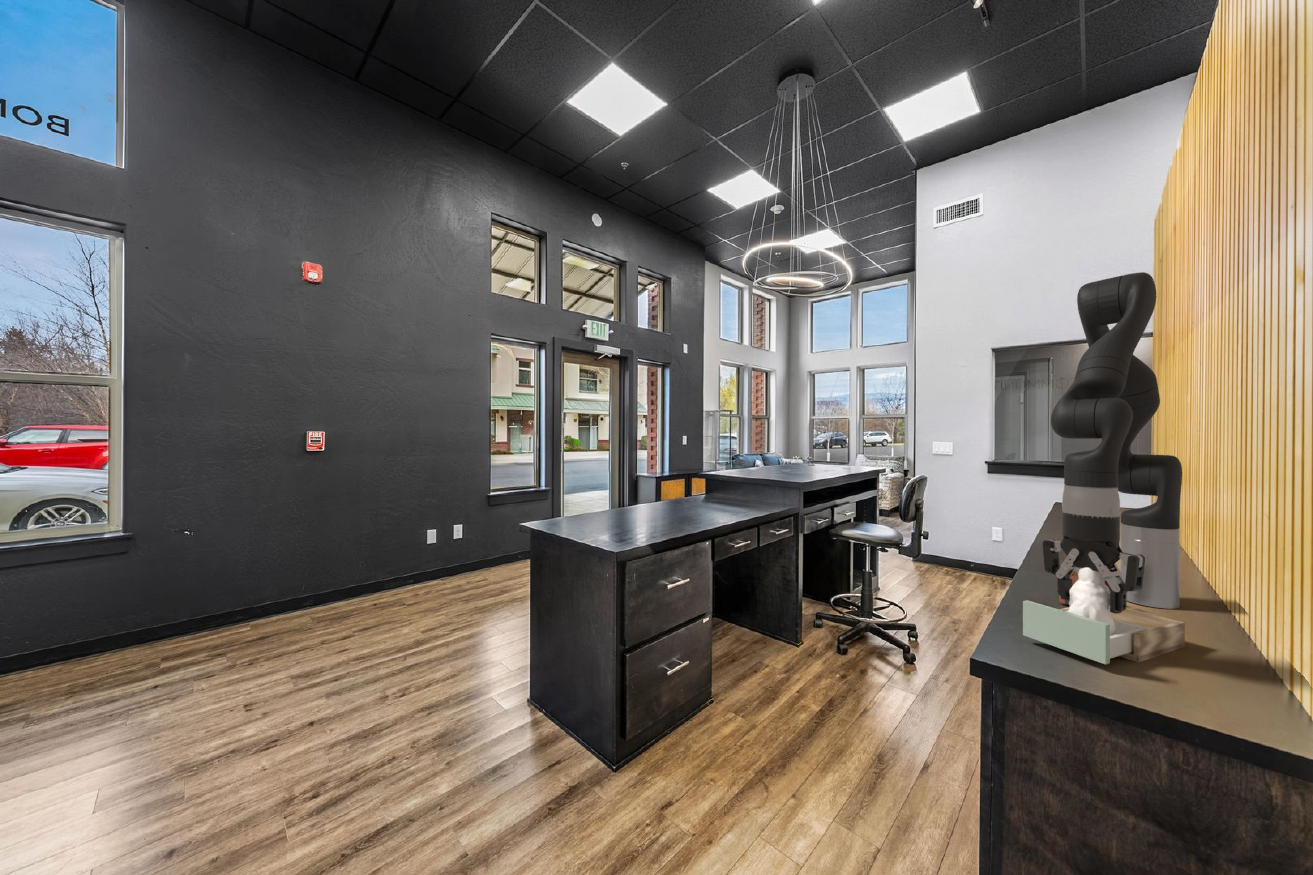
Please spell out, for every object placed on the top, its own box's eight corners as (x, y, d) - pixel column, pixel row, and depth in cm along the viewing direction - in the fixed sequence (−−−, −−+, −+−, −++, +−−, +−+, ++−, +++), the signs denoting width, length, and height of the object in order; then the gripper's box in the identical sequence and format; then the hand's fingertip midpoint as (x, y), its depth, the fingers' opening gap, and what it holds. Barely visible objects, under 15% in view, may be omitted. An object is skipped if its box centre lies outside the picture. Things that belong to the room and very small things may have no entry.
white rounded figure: (1064, 632, 83) (1065, 564, 83) (1068, 619, 89) (1069, 555, 89) (1114, 644, 78) (1115, 572, 78) (1115, 629, 84) (1116, 562, 84)
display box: (1138, 662, 78) (1138, 635, 78) (1053, 634, 90) (1053, 610, 90) (1184, 647, 84) (1184, 622, 84) (1099, 622, 95) (1099, 600, 95)
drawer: (1105, 664, 75) (1105, 625, 75) (1022, 635, 86) (1022, 601, 86) (1154, 649, 80) (1154, 612, 80) (1070, 623, 92) (1070, 591, 92)
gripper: (1156, 516, 78) (1156, 616, 79) (1056, 505, 92) (1056, 590, 92) (1131, 519, 76) (1131, 623, 76) (1031, 507, 89) (1031, 595, 89)
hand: (1090, 605), depth 84 cm, fingers open, 6 cm apart
